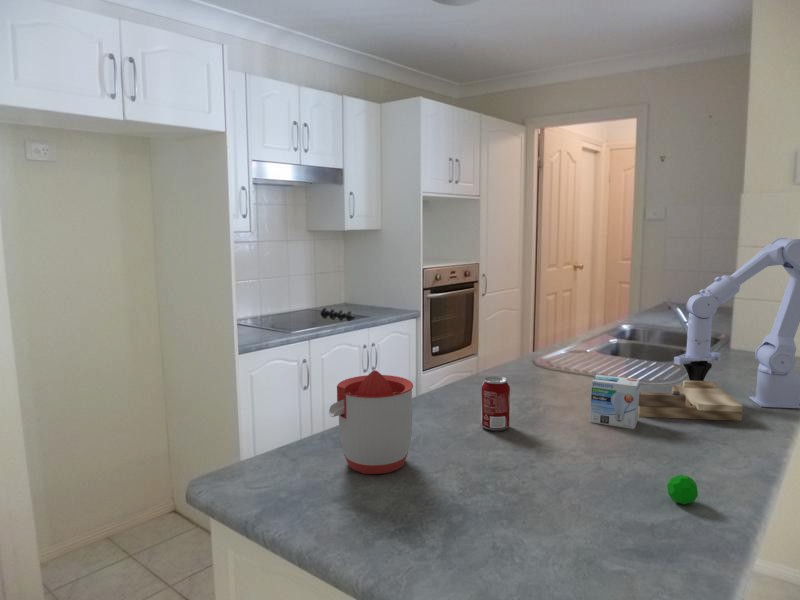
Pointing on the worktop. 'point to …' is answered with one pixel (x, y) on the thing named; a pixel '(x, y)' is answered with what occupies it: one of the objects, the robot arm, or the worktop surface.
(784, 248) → the robot arm
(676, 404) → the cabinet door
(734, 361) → the worktop surface
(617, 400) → the light bulb box
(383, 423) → the citrus juicer
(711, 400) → the lid
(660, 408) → the brown piece
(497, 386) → the soda can
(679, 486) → the polyhedron
